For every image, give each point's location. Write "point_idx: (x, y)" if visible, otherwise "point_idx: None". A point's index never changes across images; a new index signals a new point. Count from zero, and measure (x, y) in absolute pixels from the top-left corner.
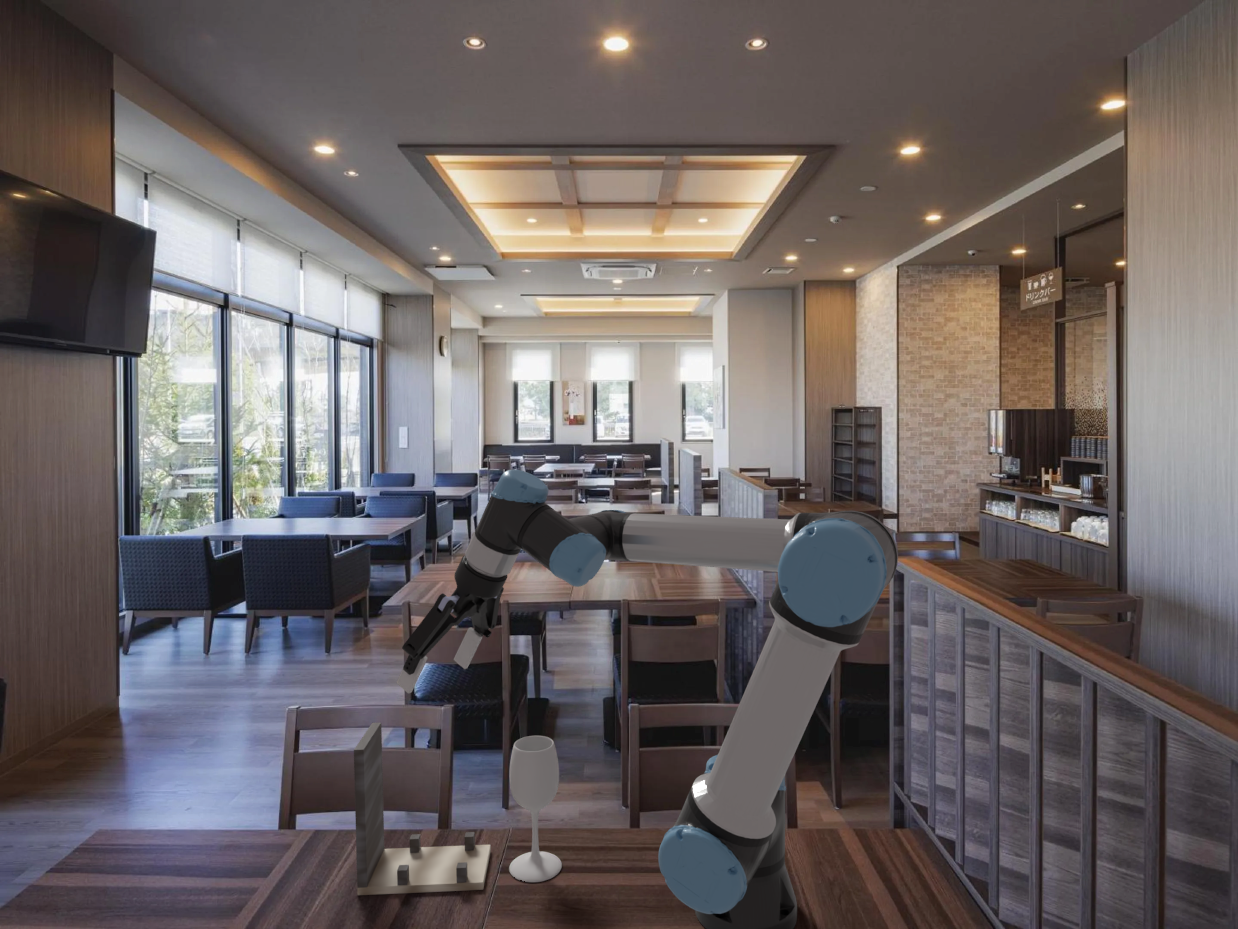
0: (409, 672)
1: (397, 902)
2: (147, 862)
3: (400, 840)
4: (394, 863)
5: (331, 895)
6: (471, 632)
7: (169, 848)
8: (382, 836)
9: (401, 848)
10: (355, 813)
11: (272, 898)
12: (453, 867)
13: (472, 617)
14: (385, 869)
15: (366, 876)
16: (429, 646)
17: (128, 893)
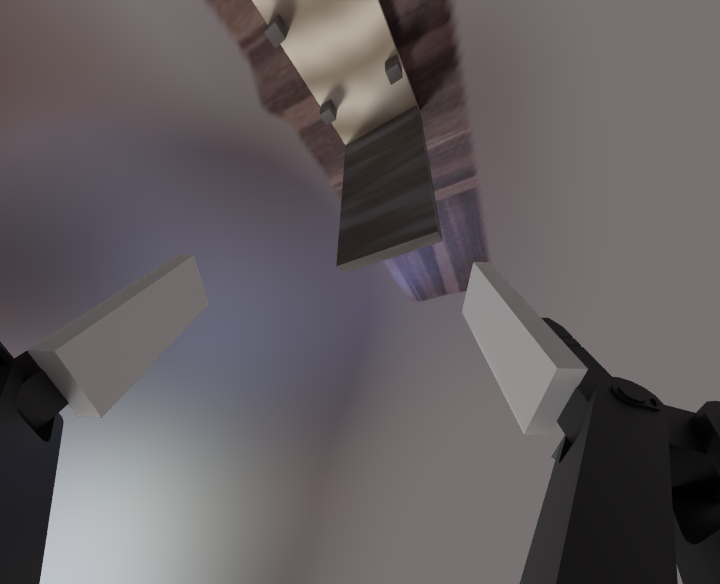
0: (561, 328)
1: (418, 46)
2: (426, 273)
3: (313, 146)
4: (363, 111)
5: (427, 137)
6: (96, 392)
7: (408, 275)
8: (350, 153)
9: (335, 127)
10: (430, 172)
11: (444, 182)
12: (331, 12)
13: (35, 530)
14: (378, 112)
15: (417, 112)
16: (669, 466)
17: (459, 260)
